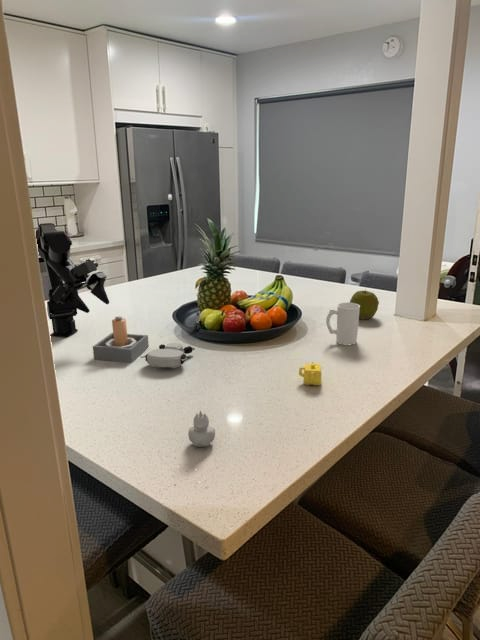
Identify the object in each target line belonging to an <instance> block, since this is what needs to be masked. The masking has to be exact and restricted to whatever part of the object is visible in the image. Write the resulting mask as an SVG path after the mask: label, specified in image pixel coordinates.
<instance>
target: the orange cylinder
mask: <svg viewBox="0 0 480 640" xmlns="http://www.w3.org/2000/svg"><path fill="white" fill-rule="evenodd" d="M111 323H112V324H111V325H112V333H113V336H114V345H115V346H119V347H121V346H126V345H128V337H127V334H128V329H127V328H128V327H127V319H126V318H124V317H122V316H115V317H114V318H113V319H112V320H111Z"/></svg>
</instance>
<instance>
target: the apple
mask: <svg viewBox="0 0 480 640" xmlns="http://www.w3.org/2000/svg"><path fill="white" fill-rule="evenodd" d="M349 303H355V304H358V305H360V311H359V318H360V319H361V320H368V319H370V318H373V317H374V316H375V315H376V313H377V311H378V307H379V304H380V301H379V298H378V297H377V295H375V293H374V292H372V291H368V290H357V291H356V292H355V293H354V294H353V295H352V296H351V298H350V299H349ZM360 319H359V320H360Z"/></svg>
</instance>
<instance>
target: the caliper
mask: <svg viewBox="0 0 480 640" xmlns="http://www.w3.org/2000/svg"><path fill="white" fill-rule="evenodd" d="M200 313H201V311H197V312H196V315H195V324H196V323H199V321H200Z"/></svg>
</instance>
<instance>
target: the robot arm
mask: <svg viewBox="0 0 480 640" xmlns="http://www.w3.org/2000/svg"><path fill="white" fill-rule="evenodd" d="M37 227H38V228H37V229H36V230H35V231H36V238H37V244H38V252H39V255H38V256H39V257H40V258H42V259H43V260H44V266H45V270H46V273H47V278H48V282H49V288H50V289H49V290H48V299H47V301H46V311H47V317H48V318H49V320H51V324H52V325H51V326H52V331H53V332H52V333H50V336H52V337H63V338H67V337H70V336H72V335H74V334H75V333H76V332H78V328H77V326H76V320H75V319H74V317H77V315H78V310H79V311H80V312H84V313H86V314H89V312H90V308H89V307H88V306H87V305H86V303H85V302H84V301H83V299H82V298H81V297H80V295H79V292H78V291H79V290H82V289H85V288H86V289H87V290H90V293H91V294H92V295H93V296H95V297H96V298H97V299H99V300H100V301H101V302H103V303H104V304H106V305H109V303H110V300H109V297H108V295H107V291H106V290H105V282H106V279H107V277H108V276H107V275H106V274H105V273H104V272H103V271H97V270H98V266H99V262H97V260H96V259H95V258H94V257H90V258H87V259H86V260H85V262H81V263H74V262H73V261H72V260H71V259H70V255H71V246H73V241H72V240H71V238H70V237H69V236H68V234H66V232H65V231H64V230H57V228H56V226H55V223H53V222H47V223H46V222H45V223H40V224H38V225H37ZM38 252H37V253H38ZM96 271H97V272H96ZM92 272H93V273H92ZM94 272H95V273H94ZM90 273H91V275H90ZM87 278H88V279H87Z"/></svg>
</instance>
